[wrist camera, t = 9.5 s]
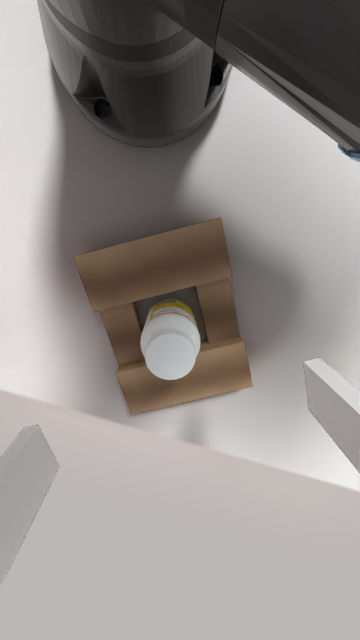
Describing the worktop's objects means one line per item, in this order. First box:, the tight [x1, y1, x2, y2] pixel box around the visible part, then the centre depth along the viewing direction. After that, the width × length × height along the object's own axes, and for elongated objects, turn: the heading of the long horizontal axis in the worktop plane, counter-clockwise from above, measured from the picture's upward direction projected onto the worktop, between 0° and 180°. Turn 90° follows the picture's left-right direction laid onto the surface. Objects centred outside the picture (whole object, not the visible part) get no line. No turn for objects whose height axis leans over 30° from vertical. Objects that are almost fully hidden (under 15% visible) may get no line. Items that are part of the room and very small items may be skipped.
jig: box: [73, 217, 253, 415], centre depth 27 cm, size 18×14×3 cm
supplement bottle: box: [140, 298, 201, 380], centre depth 24 cm, size 5×5×10 cm
